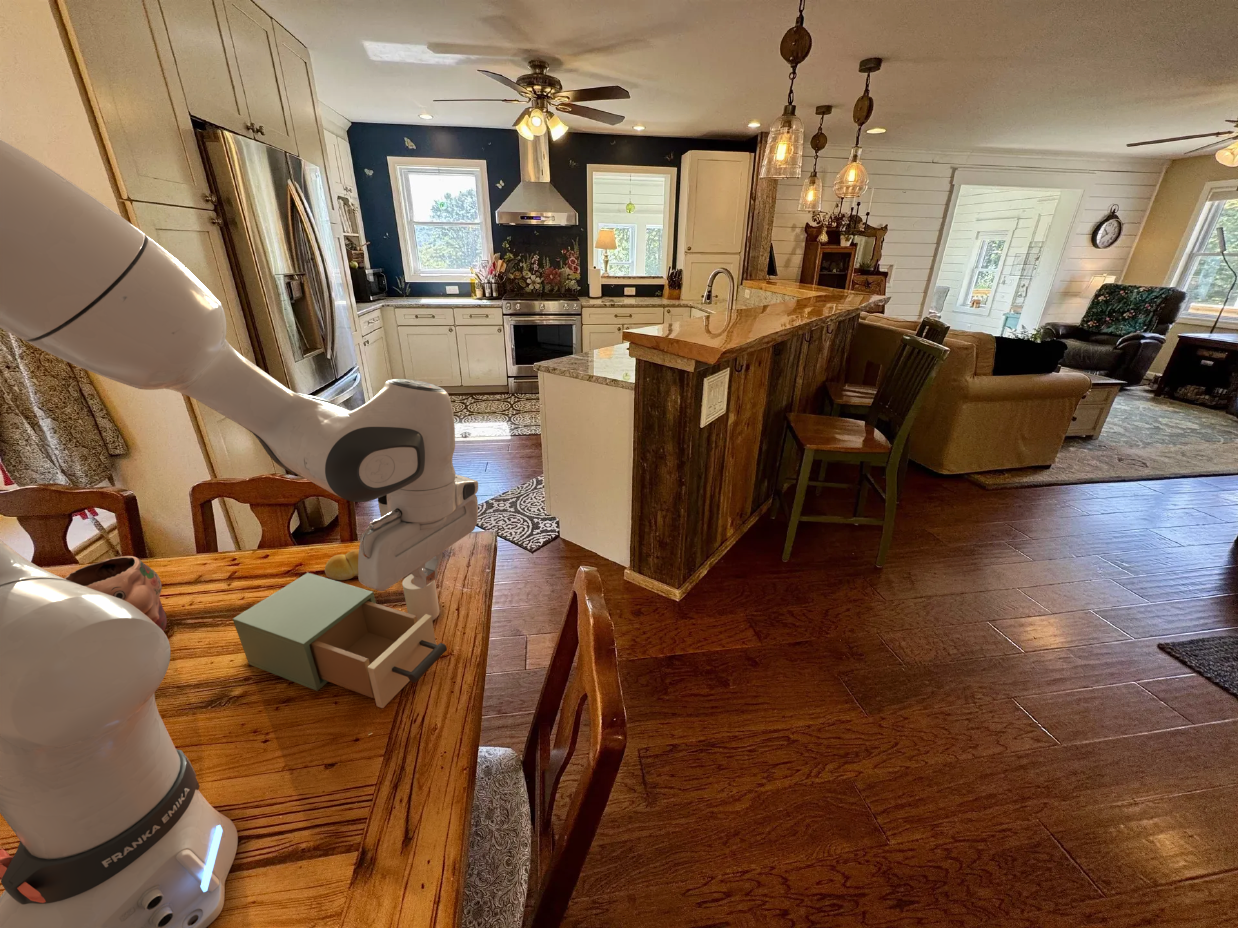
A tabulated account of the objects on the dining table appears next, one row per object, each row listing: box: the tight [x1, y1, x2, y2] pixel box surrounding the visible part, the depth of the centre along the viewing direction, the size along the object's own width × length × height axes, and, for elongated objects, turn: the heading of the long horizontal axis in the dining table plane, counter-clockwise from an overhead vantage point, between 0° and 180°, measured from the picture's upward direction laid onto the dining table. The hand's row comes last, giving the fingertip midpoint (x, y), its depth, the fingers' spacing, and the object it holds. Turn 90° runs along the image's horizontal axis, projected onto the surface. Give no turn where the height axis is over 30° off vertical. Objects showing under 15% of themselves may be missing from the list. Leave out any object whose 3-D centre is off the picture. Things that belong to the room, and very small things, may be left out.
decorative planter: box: [63, 555, 168, 632], centre depth 87 cm, size 20×12×14 cm, turn 49°
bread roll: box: [324, 549, 359, 581], centre depth 107 cm, size 8×9×4 cm
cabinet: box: [232, 572, 377, 692], centre depth 84 cm, size 16×14×10 cm
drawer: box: [309, 601, 448, 709], centre depth 79 cm, size 19×12×8 cm, turn 70°
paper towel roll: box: [401, 573, 441, 622], centre depth 93 cm, size 6×6×8 cm
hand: (426, 582), depth 72 cm, fingers closed
